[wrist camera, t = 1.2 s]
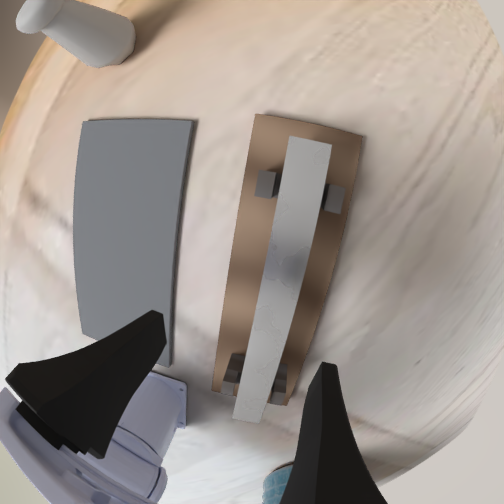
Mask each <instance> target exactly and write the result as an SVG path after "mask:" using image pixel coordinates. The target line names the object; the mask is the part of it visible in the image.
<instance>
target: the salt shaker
mask: <svg viewBox="0 0 504 504" xmlns="http://www.w3.org/2000/svg"><path fill="white" fill-rule="evenodd" d="M16 26H17V29H18V30H19V31H21V32H24V33H27V34H30V33H37V32H39V31H42V32H43V33H44V34H46V35H47V36H48V37H50V38H51V39H53V40H54V41H55V42H57V43H58V44H59V45H61V46H62V47H63V48H65V49H66V50H67V51H69V52H70V53H71V54H73V55H74V56H75V57H77V58H78V59H79V60H81V61H82V62H83V63H85V64H86V65H87V66H91V67H96V68H101V67H105V66H109V65H117V64H121V63H122V62H123V61H124V60H125V59H126V58H127V57H128V56H129V55H130V54H131V53H132V52H133V51H134V46H135V41H136V33H135V28H134V25H133V24H132V22H131V21H130V20H129V19H128V18H127V17H124V16H122V15H119V14H116V13H114V12H111V11H108V10H105V9H102V8H99V7H96V6H93V5H89V4H86V3H83V2H79V1H75V0H27V1H26V2H25V3H24V5H23V6H22V8H21V10H20V11H19V13H18V16H17V19H16Z"/></svg>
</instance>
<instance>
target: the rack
mask: <svg viewBox="0 0 504 504" xmlns="http://www.w3.org/2000/svg"><path fill="white" fill-rule="evenodd" d="M289 136H294V137H299V138H304V139H309V140H313V141H318V142H322V143H326V144H330V145H332V148H331V154H330V159H329V165H328V170H327V175H326V180H325V185H324V190H323V195H322V200H321V205H320V210H319V214H318V219H317V223H316V228H315V232H314V237H313V241H312V245H311V249H310V254H309V258H308V262H307V266H306V270H305V274H304V278H303V282H302V286H301V289H300V293H299V297H298V301H297V304H296V308H295V312H294V315H293V319H292V322H291V326H290V329H289V333H288V336H287V340H286V343H285V346H284V350H283V353H282V356H281V359H280V363H279V366H278V369H277V372H276V375H275V378H274V382H273V385H272V388H271V391H270V394H269V397H268V400H267V403H270V404H275V405H284V406H287V404H288V401H289V399H290V396H291V394H292V391H293V389H294V386H295V384H296V381H297V379H298V376H299V373H300V371H301V368H302V365H303V363H304V360H305V357H306V354H307V352H308V349H309V346H310V343H311V340H312V337H313V334H314V332H315V329H316V326H317V322H318V319H319V316H320V313H321V310H322V307H323V304H324V300H325V297H326V294H327V291H328V287H329V284H330V280H331V277H332V273H333V270H334V266H335V262H336V259H337V255H338V251H339V247H340V243H341V239H342V235H343V231H344V227H345V223H346V219H347V214H348V210H349V205H350V201H351V196H352V191H353V186H354V181H355V176H356V171H357V165H358V160H359V154H360V148H361V142H362V136H360V135H356V134H352V133H349V132H345V131H341V130H337V129H333V128H329V127H325V126H321V125H316V124H312V123H307V122H302V121H297V120H292V119H286V118H281V117H275V116H268V115H262V114H255V119H254V124H253V130H252V135H251V140H250V146H249V151H248V157H247V163H246V168H245V174H244V180H243V185H242V191H241V197H240V203H239V209H238V215H237V221H236V227H235V233H234V239H233V245H232V252H231V258H230V264H229V271H228V277H227V284H226V291H225V297H224V304H223V311H222V318H221V325H220V332H219V339H218V346H217V353H216V361H215V368H214V376H213V383H212V391H215V392H219V393H222V394H226V395H230V396H236V397H237V394H238V389H239V385H240V380H241V376H242V371H243V367H244V362H245V357H246V353H247V348H248V343H249V339H250V334H251V329H252V325H253V320H254V315H255V310H256V305H257V301H258V296H259V291H260V286H261V281H262V276H263V271H264V266H265V261H266V256H267V251H268V246H269V241H270V236H271V231H272V226H273V221H274V216H275V210H276V205H277V200H278V195H279V189H280V184H281V179H282V173H283V168H284V163H285V157H286V152H287V146H288V141H289Z"/></svg>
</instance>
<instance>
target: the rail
mask: <svg viewBox="0 0 504 504" xmlns="http://www.w3.org/2000/svg"><path fill="white" fill-rule="evenodd" d="M331 148H332V145H330V144H326V143H322V142H318V141H313V140H309V139H304V138H299V137H294V136H289V141H288V146H287V152H286V157H285V163H284V168H283V173H282V179H281V184H280V189H279V195H278V200H277V205H276V210H275V216H274V221H273V226H272V231H271V236H270V241H269V246H268V251H267V256H266V261H265V266H264V271H263V276H262V281H261V286H260V291H259V296H258V301H257V305H256V310H255V315H254V320H253V325H252V329H251V334H250V339H249V343H248V348H247V353H246V357H245V362H244V367H243V371H242V376H241V380H240V385H239V389H238V394H237V398H236V403H235V407H234V411H233V416H232V419H237V420H241V421H246V422H252V423H257V424H259V423H260V420H261V417H262V414H263V411H264V408H265V405H266V403H267V400H268V397H269V394H270V391H271V388H272V385H273V382H274V378H275V375H276V372H277V369H278V366H279V363H280V359H281V356H282V353H283V350H284V346H285V343H286V340H287V336H288V333H289V329H290V326H291V322H292V319H293V315H294V312H295V308H296V304H297V301H298V297H299V293H300V289H301V286H302V282H303V278H304V274H305V270H306V266H307V262H308V258H309V254H310V249H311V245H312V241H313V237H314V232H315V228H316V223H317V219H318V214H319V210H320V205H321V200H322V195H323V190H324V185H325V180H326V175H327V170H328V165H329V159H330V154H331Z"/></svg>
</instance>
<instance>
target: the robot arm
mask: <svg viewBox="0 0 504 504" xmlns="http://www.w3.org/2000/svg"><path fill="white" fill-rule="evenodd" d="M166 344H167V338H166V332H165V324H164V317H163V314H162V313H160V312H157V311H155V310H150V311H149V312H147V313H145V314H144V315H142V316H140V317H139V318H137V319H135V320H134V321H132V322H131V323H129V324H127V325H126V326H124V327H122V328H121V329H119V330H117V331H115V332H114V333H112V334H110V335H108V336H107V337H105V338H103V339H101V340H99V341H97V342H95V343H93V344H91V345H89V346H86V347H84V348H82V349H79V350H77V351H74V352H71V353H68V354H65V355H62V356H59V357H55V358H51V359H47V360H42V361H36V362H29V363H19V364H18V365H17V366H16V367H15V368H14V369H13V370H12V372H11V373H10V374H9V375H8V376H7V377H6V378H5V380H6V382H7V383H8V384H9V385H10V387H11V388H12V389H13V390H14V391H15V392H16V394H17V395H18V396H19V397H20V398H21V399H22V402H21V403H20V402H19V401H18V400H17V399H16V398H15V397H14V396H13V394H12V393H11V392H10V391H9V390H8V389H7V388H6V387H4V389H3V390H2V391H1V392H0V441H1V442H2V444H3V445H4V447H5V448H6V450H7V451H8V453H9V454H10V456H11V457H12V458H13V460H14V461H15V463H16V464H17V465H18V467H19V468H20V469H21V470H22V472H23V473H24V474H25V476H26V477H27V478H28V479H29V480H30V482H31V483H32V484H33V485H34V486H35V488H36V489H37V490H38V491H39V492H40V493H41V494H42V495H43V497H44V498H45V499H46V500H47V501H48V502H49V503H50V504H158V503H157V502H158V501H159V500H160V498H161V496H162V494H163V492H164V490H165V488H166V485H167V479H168V478H167V474H166V470H165V469H164V468H163V467H161V463H162V461H163V458H164V456H165V454H166V452H167V450H168V447H169V445H170V443H171V441H172V438H173V436H174V434H175V432H176V429H177V427H178V428H181V429H185V427H186V394H187V385H186V384H185V383H184V382H181V381H177V380H174V379H171V378H168V377H165V376H162V375H159V374H156V373H153V372H151V370H152V368H153V367H154V365H155V364H156V362H157V361H158V359H159V357H160V356H161V354H162V352H163V350H164V348H165V346H166ZM181 388H182V389H181ZM279 504H388V503H387V502H386V500H385V499H384V497H383V496H382V495H381V493H380V491H379V490H378V488H377V486H376V484H375V483H374V481H373V479H372V477H371V475H370V473H369V471H368V469H367V467H366V465H365V463H364V461H363V459H362V456H361V454H360V452H359V449H358V446H357V444H356V441H355V438H354V435H353V433H352V429H351V426H350V423H349V419H348V416H347V412H346V408H345V404H344V400H343V396H342V391H341V386H340V381H339V375H338V368H337V366H336V364H331V363H326V362H322V363H321V365H320V367H319V369H318V371H317V372H316V374H315V376H314V378H313V380H312V382H311V384H310V386H309V388H308V392H307V396H306V400H305V404H304V408H303V415H302V421H301V428H300V434H299V441H298V446H297V452H296V456H295V460H294V463H293V466H292V470H291V473H290V476H289V479H288V482H287V485H286V487H285V490H284V493H283V495H282V498H281V501H280V503H279Z"/></svg>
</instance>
